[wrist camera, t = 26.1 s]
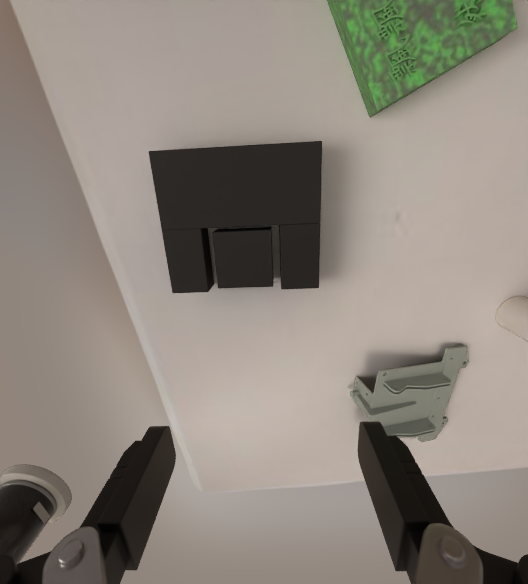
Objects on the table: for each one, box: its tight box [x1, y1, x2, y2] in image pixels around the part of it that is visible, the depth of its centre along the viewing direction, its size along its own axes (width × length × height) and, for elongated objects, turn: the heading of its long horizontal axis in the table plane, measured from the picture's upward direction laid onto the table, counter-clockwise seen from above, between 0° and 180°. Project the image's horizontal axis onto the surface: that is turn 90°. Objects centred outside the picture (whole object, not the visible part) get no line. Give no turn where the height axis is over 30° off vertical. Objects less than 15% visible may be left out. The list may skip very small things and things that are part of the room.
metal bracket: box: [350, 345, 468, 442], centre depth 35 cm, size 14×6×15 cm
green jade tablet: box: [327, 0, 517, 117], centre depth 22 cm, size 11×12×2 cm
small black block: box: [212, 227, 273, 288], centre depth 29 cm, size 6×6×3 cm
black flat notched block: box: [149, 141, 322, 293], centre depth 28 cm, size 16×14×3 cm
